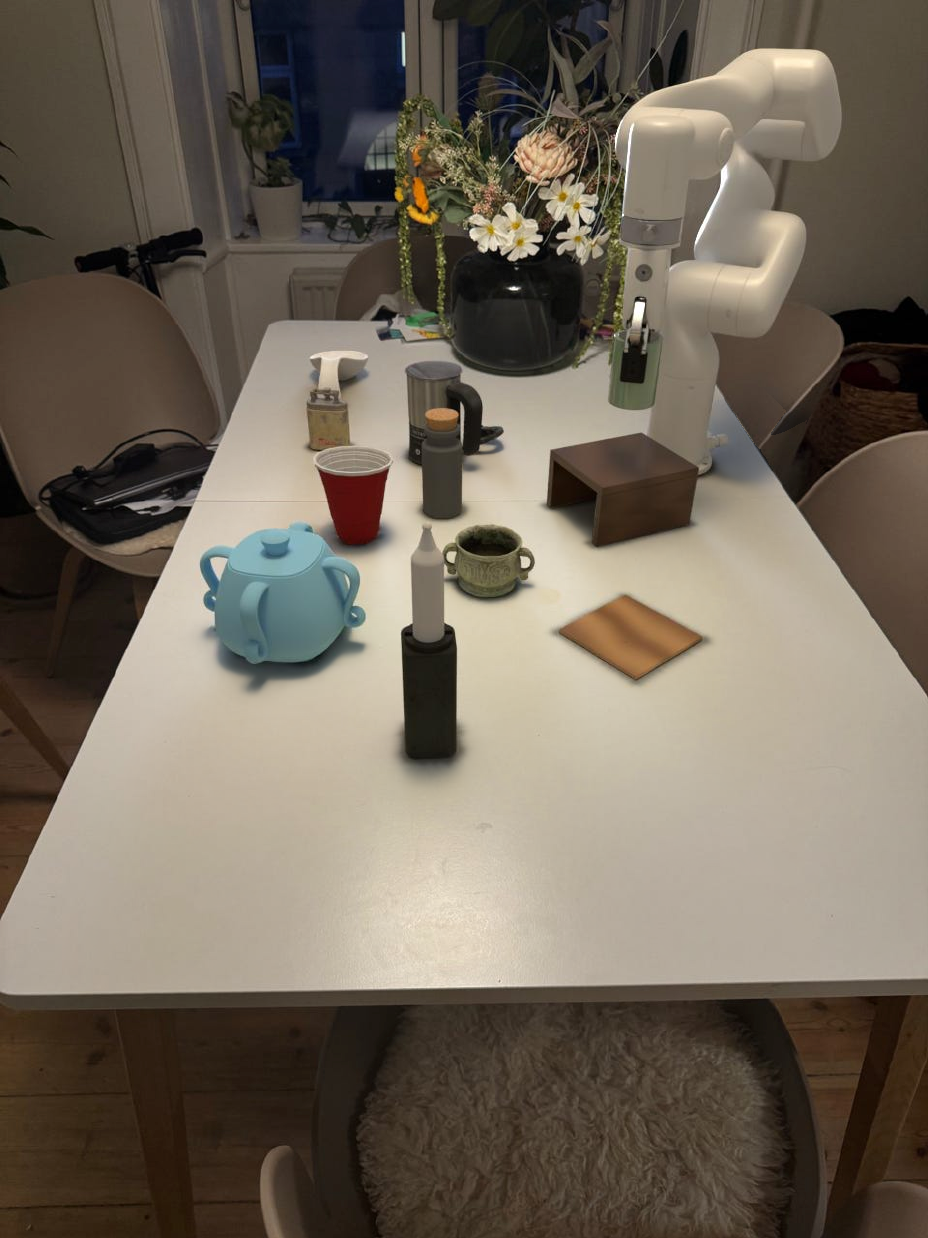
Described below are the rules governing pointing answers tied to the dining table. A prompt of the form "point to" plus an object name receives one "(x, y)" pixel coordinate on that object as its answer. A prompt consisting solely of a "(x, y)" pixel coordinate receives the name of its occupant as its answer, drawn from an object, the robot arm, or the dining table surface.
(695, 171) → the robot arm
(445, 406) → the milk frother
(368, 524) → the plastic cup
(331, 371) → the spoon rest
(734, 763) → the dining table surface
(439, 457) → the bottle
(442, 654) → the candle
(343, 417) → the lighter
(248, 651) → the decorative pot
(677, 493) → the shelf
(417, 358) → the dining table surface
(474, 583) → the vessel
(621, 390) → the tumbler
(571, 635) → the coaster
